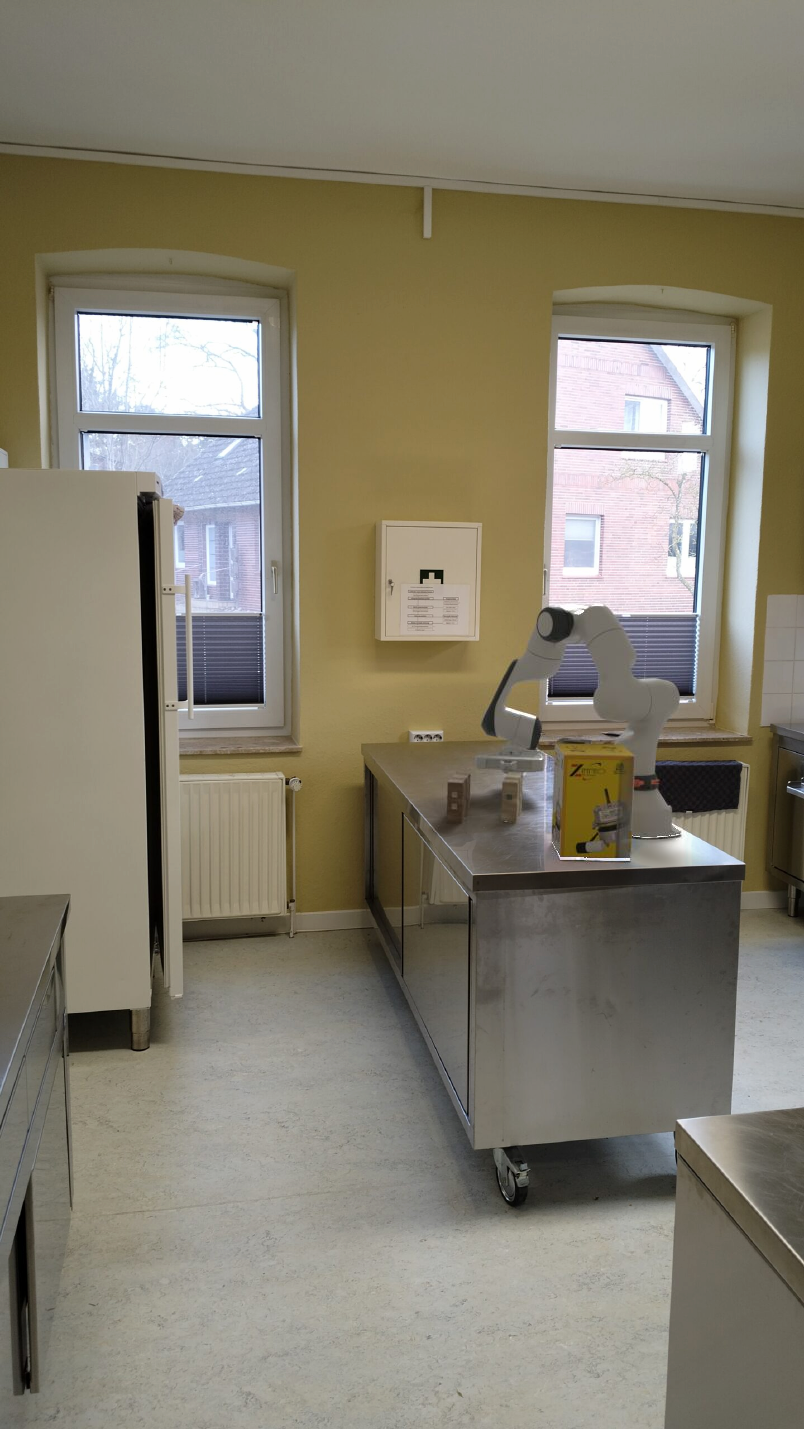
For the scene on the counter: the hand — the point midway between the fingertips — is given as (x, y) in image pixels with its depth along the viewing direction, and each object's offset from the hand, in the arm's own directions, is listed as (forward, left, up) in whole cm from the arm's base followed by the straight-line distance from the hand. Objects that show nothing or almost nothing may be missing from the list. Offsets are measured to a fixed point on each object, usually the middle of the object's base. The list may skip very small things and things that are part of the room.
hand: (506, 767), depth 289 cm
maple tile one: (-13, +4, -11) cm, 18 cm away
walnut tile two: (-10, +18, -11) cm, 24 cm away
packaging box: (-51, 0, -11) cm, 53 cm away
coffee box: (+13, -28, -11) cm, 33 cm away
